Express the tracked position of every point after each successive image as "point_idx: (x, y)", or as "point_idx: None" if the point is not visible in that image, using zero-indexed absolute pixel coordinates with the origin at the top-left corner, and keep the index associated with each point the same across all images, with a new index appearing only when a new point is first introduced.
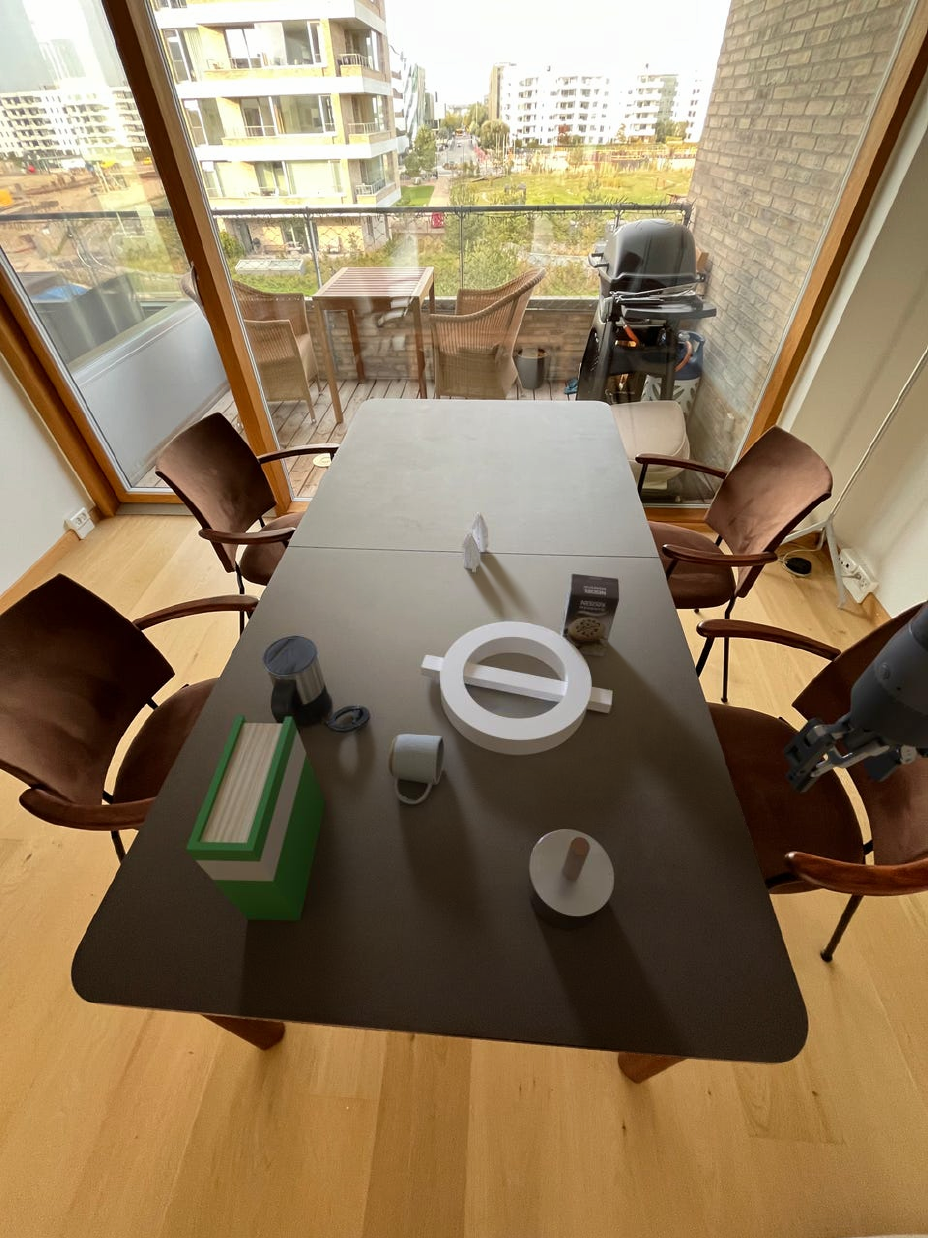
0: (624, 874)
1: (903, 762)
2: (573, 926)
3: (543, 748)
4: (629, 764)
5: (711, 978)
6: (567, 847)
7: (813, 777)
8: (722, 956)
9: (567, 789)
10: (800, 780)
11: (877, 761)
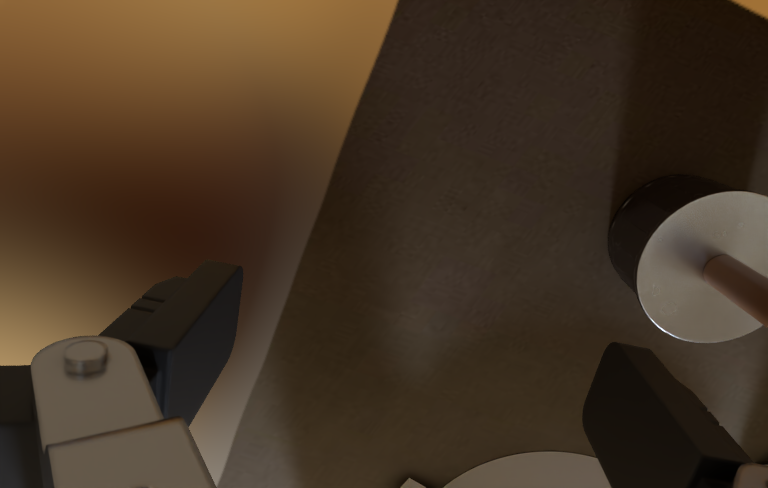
0: (556, 224)
1: (124, 357)
2: (713, 181)
3: (561, 459)
4: (425, 383)
5: (526, 25)
6: (699, 309)
7: (734, 451)
8: (484, 49)
9: (558, 381)
10: (720, 431)
11: (204, 368)
